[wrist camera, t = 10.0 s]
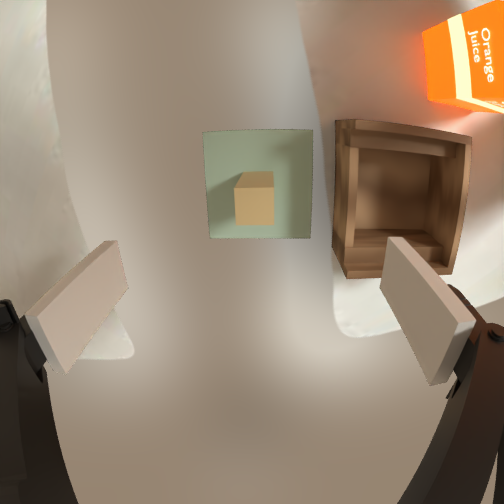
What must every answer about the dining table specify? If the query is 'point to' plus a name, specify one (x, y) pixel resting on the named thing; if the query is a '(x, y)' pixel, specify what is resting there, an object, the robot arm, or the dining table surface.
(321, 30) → the dining table surface
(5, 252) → the dining table surface
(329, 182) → the dining table surface
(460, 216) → the box
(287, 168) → the cover plate
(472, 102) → the orange juice
